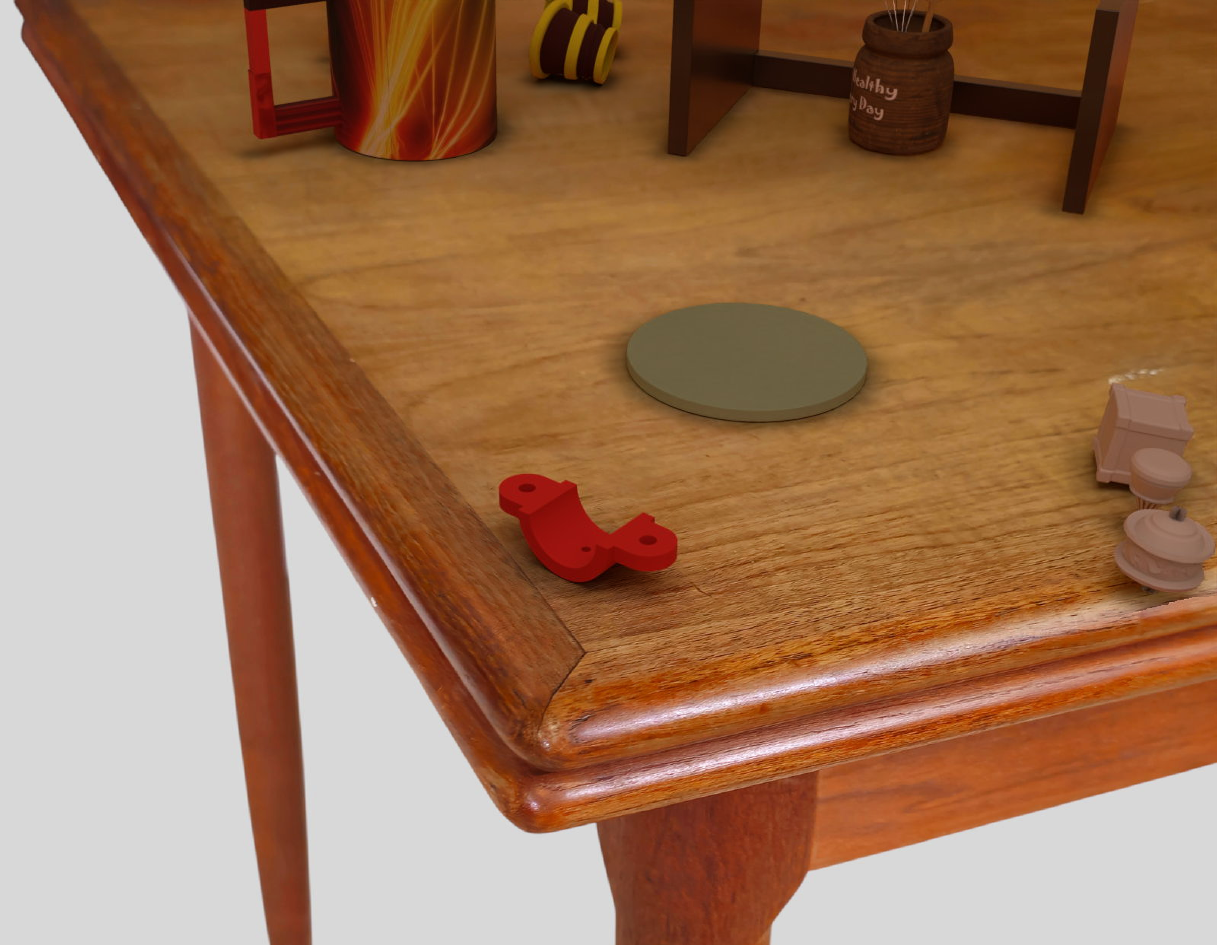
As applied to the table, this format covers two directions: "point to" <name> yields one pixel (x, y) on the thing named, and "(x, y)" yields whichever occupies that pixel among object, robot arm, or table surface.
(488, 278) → the table surface
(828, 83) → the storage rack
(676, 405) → the rubber mat
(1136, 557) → the toy set
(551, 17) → the opera glasses
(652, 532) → the pipe clamp
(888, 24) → the utensil holder
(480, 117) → the mug
